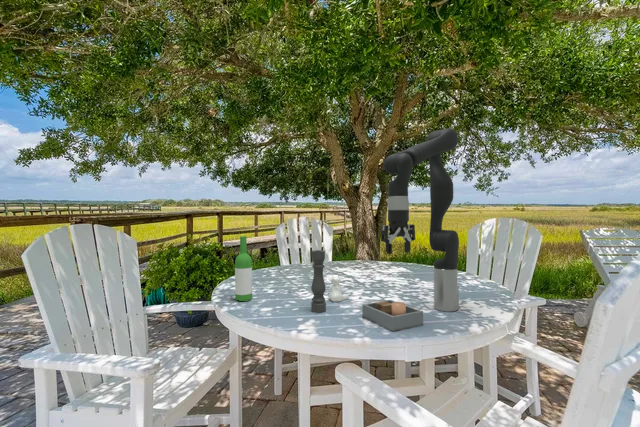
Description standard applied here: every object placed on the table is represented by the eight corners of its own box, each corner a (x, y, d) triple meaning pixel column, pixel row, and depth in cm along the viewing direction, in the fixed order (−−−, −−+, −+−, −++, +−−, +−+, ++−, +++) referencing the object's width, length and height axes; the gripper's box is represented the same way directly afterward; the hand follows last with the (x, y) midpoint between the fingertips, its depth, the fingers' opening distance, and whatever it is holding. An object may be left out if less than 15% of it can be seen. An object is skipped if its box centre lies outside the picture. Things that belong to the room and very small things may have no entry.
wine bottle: (253, 297, 160) (253, 235, 160) (250, 302, 152) (249, 237, 152) (237, 297, 160) (237, 235, 160) (233, 302, 153) (232, 237, 152)
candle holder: (321, 313, 135) (320, 252, 134) (308, 311, 138) (307, 251, 138) (328, 309, 140) (328, 250, 140) (316, 307, 143) (315, 249, 143)
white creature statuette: (348, 298, 158) (348, 273, 158) (345, 303, 149) (345, 276, 149) (329, 297, 160) (329, 272, 160) (324, 302, 152) (324, 275, 152)
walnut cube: (394, 317, 128) (393, 304, 128) (383, 319, 125) (383, 306, 125) (385, 313, 132) (385, 301, 132) (375, 315, 130) (375, 302, 130)
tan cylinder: (408, 323, 120) (408, 304, 120) (396, 325, 118) (396, 306, 118) (400, 319, 125) (400, 301, 125) (389, 321, 123) (388, 302, 123)
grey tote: (390, 311, 137) (390, 299, 137) (423, 325, 121) (422, 311, 121) (362, 317, 130) (362, 304, 130) (393, 331, 114) (392, 317, 114)
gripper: (389, 208, 115) (389, 255, 115) (420, 208, 121) (420, 253, 122) (376, 209, 121) (376, 253, 122) (405, 208, 128) (406, 250, 128)
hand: (398, 253), depth 122 cm, fingers open, 8 cm apart
